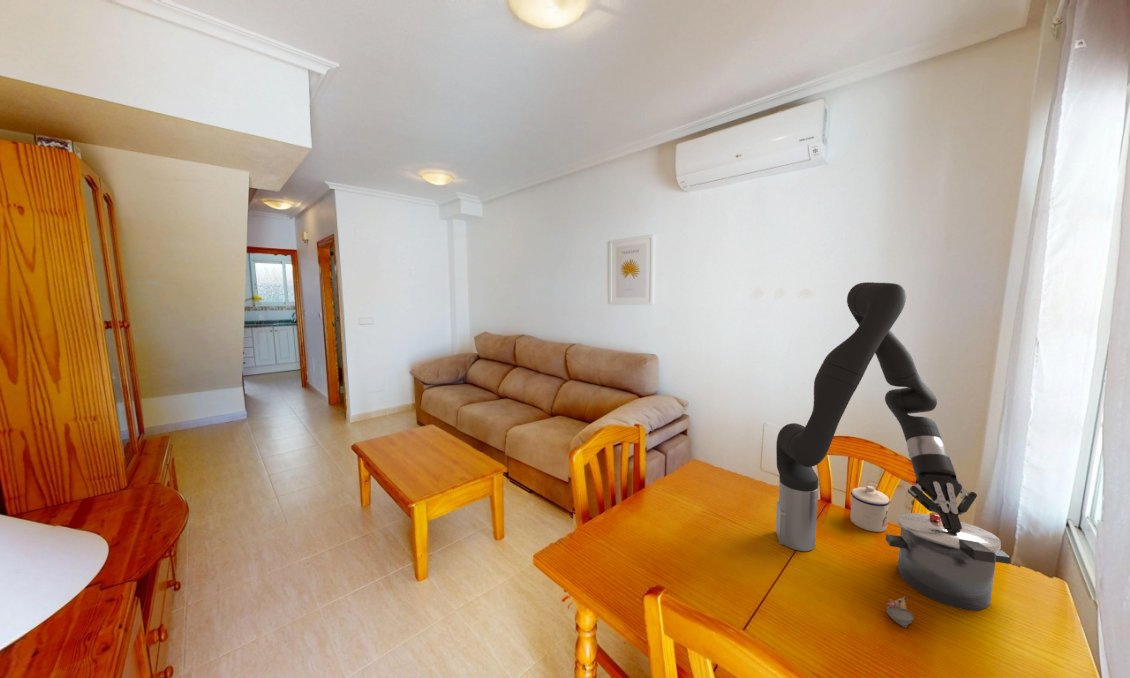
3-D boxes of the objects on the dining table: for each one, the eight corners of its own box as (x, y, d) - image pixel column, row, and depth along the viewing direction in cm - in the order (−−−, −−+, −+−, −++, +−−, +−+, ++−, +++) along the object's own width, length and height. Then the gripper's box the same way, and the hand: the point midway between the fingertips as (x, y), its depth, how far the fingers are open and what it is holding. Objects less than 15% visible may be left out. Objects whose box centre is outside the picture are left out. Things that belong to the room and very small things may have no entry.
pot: (900, 598, 90) (904, 553, 88) (870, 549, 106) (873, 511, 105) (1028, 621, 83) (1035, 573, 81) (975, 565, 99) (979, 524, 98)
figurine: (909, 633, 81) (911, 604, 81) (882, 619, 84) (884, 592, 84) (916, 623, 84) (918, 595, 84) (890, 610, 88) (892, 584, 87)
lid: (885, 513, 103) (885, 503, 103) (969, 524, 98) (969, 513, 98) (931, 553, 83) (931, 541, 83) (1041, 569, 77) (1040, 556, 77)
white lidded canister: (891, 536, 111) (894, 497, 110) (852, 528, 115) (855, 491, 114) (880, 513, 122) (882, 478, 120) (844, 507, 126) (846, 473, 124)
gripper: (903, 449, 98) (925, 523, 89) (970, 455, 94) (1002, 533, 84) (891, 460, 104) (911, 531, 94) (955, 466, 100) (983, 540, 90)
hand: (954, 532), depth 89 cm, fingers closed
